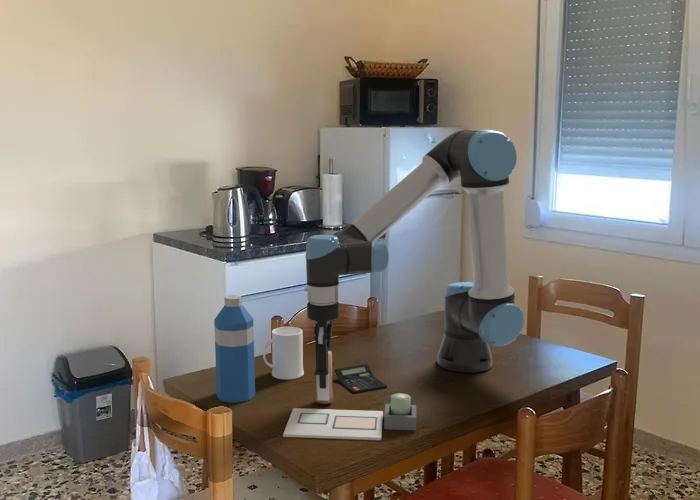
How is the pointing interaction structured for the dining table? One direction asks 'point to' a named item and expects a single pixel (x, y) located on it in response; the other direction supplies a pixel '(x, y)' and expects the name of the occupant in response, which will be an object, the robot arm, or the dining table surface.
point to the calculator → (358, 379)
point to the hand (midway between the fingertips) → (324, 395)
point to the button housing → (400, 419)
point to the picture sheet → (334, 424)
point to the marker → (329, 381)
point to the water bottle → (234, 352)
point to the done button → (400, 404)
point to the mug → (286, 353)
